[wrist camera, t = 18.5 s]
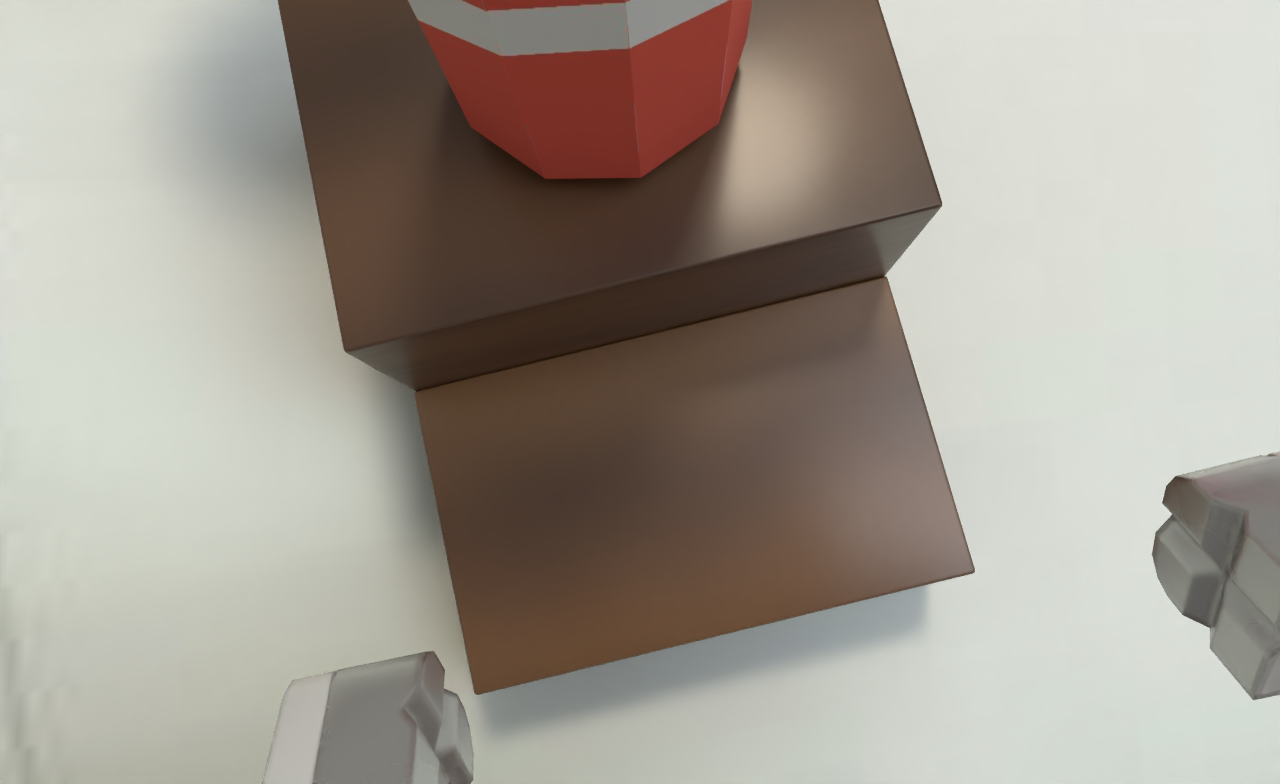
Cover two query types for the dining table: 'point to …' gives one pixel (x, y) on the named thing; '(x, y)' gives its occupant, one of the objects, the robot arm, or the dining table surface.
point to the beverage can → (588, 76)
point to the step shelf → (642, 340)
